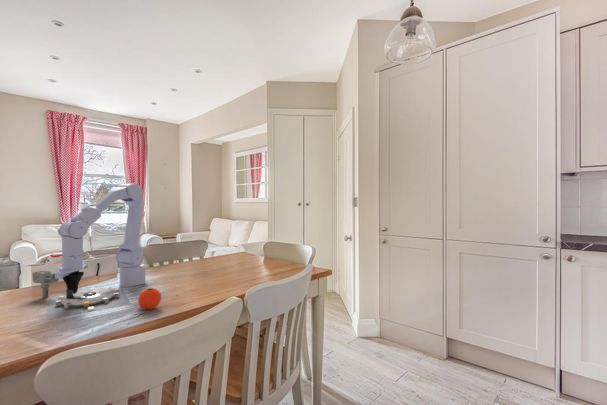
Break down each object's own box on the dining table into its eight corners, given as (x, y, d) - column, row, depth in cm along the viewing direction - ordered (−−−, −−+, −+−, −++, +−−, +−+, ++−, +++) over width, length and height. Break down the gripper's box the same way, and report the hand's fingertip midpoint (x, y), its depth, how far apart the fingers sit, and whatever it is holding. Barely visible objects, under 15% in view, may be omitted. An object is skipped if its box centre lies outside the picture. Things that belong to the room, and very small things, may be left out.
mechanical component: (52, 302, 100) (52, 274, 100) (29, 299, 103) (30, 272, 102) (60, 299, 103) (61, 272, 103) (39, 296, 105) (39, 270, 105)
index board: (121, 289, 116) (122, 285, 116) (130, 306, 97) (130, 302, 97) (50, 300, 102) (50, 296, 102) (44, 323, 83) (45, 318, 83)
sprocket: (120, 288, 113) (120, 277, 113) (118, 302, 98) (118, 290, 98) (62, 295, 104) (62, 284, 104) (50, 312, 88) (50, 299, 88)
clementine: (140, 305, 99) (141, 285, 99) (162, 303, 101) (162, 283, 101) (136, 314, 91) (136, 292, 91) (159, 311, 94) (160, 290, 94)
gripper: (73, 251, 106) (73, 287, 106) (44, 259, 91) (44, 301, 91) (94, 251, 107) (93, 286, 107) (68, 259, 92) (68, 300, 93)
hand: (72, 293), depth 99 cm, fingers closed, pressing on sprocket
